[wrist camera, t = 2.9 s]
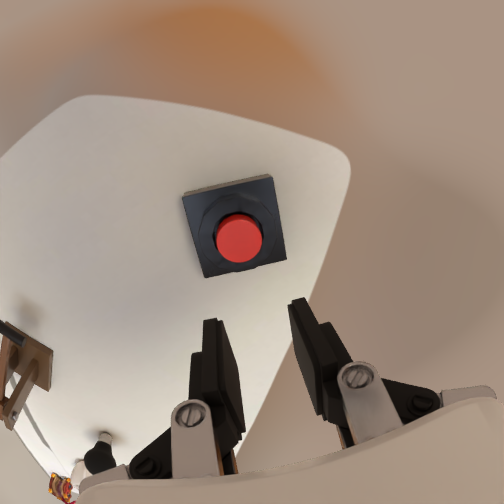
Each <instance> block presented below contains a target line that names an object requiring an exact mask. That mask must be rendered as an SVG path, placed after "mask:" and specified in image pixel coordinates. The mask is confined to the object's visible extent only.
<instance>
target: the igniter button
mask: <svg viewBox="0 0 504 504" xmlns="http://www.w3.org/2000/svg"><path fill="white" fill-rule="evenodd" d="M216 242H217V248H218V250H219V252H220V254H221V255H222V256H223V257H224V258H226V259H227V260H229V261H232V262H245V261H248V260H250V259H252V258H253V257H254V256H255V255H256V254H257V253H258V252H259V250H260V248H261V245H262V236H261V233H260V231H259V228H258V226H257V224H256V223H255V222H254V220H252V219H251V218H250V217H248V216H245V215H241V214H236V215H231V216H229V217H227V218H225V219H224V220H223V221H222V222H221V223H220V225H219V227H218V229H217V234H216Z"/></svg>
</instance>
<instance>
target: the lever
mask: <svg viewBox="0 0 504 504" xmlns="http://www.w3.org/2000/svg"><path fill="white" fill-rule="evenodd" d="M0 333H1V334H2V335H3V338H2V344H1V351H0V420H2V421H3V416H2V412H3V410H4V408H5V406H6V404H7V402H8V400H9V399H8V398H7V397H5V387H6V377H7V369H8V362H9V356H10V350H11V344H12V342H14V343H15V344H17V345H18V346H20V347H21V348H23V347H24V346H25V344H26V341H27V338H26V337H25V336H23V335H22V334H20V333H19V332H17V331H16V330H14V329H13V328H11V327H10V326H8V325H7V324H6V323H4V322H3V321H1V320H0Z"/></svg>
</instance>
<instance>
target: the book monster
mask: <svg viewBox="0 0 504 504" xmlns="http://www.w3.org/2000/svg"><path fill="white" fill-rule="evenodd" d="M70 481H71V480H70V479H69V478H68V479H67V480H66V478H65V479H64V480H63V479H62V481H61V480H60V479H59V477H56V475H55V474H53V473H52V475H51V479H50V483H49V492H50V493H52V494H53V495H54V496H56V497H57V499H59V500H62V501H63V502H64V503H65V504H75V502H76V501H73V502H71V503H70V498H71V490H72V488H73V487H72V484H71V483H70ZM67 502H69V503H67Z"/></svg>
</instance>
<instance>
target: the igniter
mask: <svg viewBox="0 0 504 504" xmlns="http://www.w3.org/2000/svg"><path fill="white" fill-rule="evenodd" d="M182 200H183V204H184V208H185V212H186V215H187V219H188V223H189V226H190V230H191V233H192V237H193V240H194V244H195V247H196V251H197V254H198V258H199V261H200V264H201V268H202V271H203V274H204V278H209V277H214V276H218V275H222V274H227V273H231V272H241V271H245V270H250V269H254V268H256V267H258V266H262V265H266V264H270V263H274V262H279V261H283V260H287V256H286V250H285V244H284V238H283V232H282V227H281V221H280V215H279V209H278V204H277V198H276V193H275V187H274V182H273V177H272V176H271V175H269V174H265V175H260V176H255V177H250V178H246V179H241V180H236V181H232V182H227V183H223V184H219V185H215V186H210V187H206V188H202V189H198V190H194V191H190V192H186V193H184V195H183V196H182ZM236 214H241V215H245V216H248V217H250V218H251V219H252V220H254V222H255V223H256V224H257V226H258V228H259V231H260V233H261V236H262V245H261V248H260V250H259V252H258V253H257V254H256V255H255V256H254V257H253V258H252V259H250V260H248V261H245V262H232V261H229V260H227V259H226V258H224V257H223V256H222V255H221V254H220V252H219V250H218V248H217V242H216V234H217V229H218V227H219V225H220V223H221V222H222V221H223V220H224V219H225V218H227V217H229V216H231V215H236Z"/></svg>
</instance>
